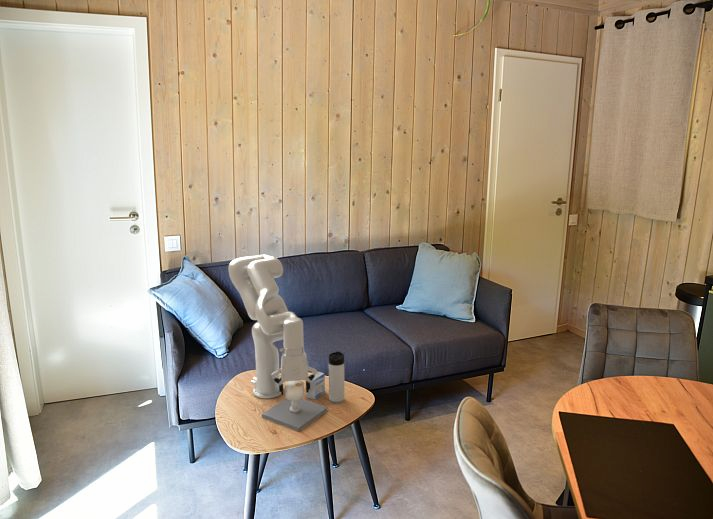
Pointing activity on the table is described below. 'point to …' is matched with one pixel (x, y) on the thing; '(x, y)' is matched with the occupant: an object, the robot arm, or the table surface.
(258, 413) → the table surface
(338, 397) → the travel mug
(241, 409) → the table surface
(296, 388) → the cap
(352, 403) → the table surface
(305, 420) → the post base
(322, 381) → the medicine box
